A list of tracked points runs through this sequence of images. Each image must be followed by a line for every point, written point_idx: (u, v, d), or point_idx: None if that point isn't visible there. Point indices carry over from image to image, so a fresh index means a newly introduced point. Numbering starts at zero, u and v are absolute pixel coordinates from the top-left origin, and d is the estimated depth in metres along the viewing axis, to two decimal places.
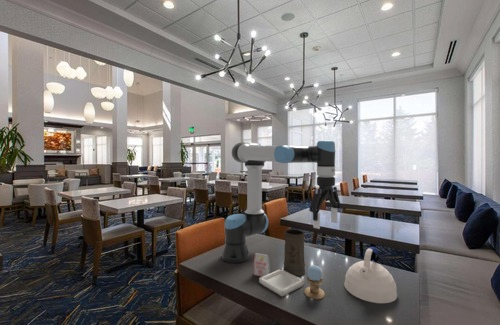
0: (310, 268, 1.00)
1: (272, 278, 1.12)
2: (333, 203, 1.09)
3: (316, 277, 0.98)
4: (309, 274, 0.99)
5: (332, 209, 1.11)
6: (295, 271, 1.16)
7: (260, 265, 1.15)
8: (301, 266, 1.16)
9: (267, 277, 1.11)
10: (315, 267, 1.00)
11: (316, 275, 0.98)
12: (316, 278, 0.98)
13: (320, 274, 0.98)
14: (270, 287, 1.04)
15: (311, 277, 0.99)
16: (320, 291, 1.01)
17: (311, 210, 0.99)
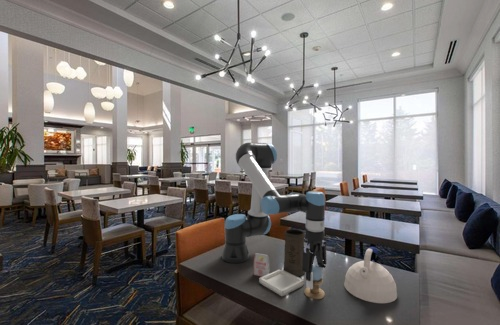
0: None
1: (272, 278, 1.12)
2: (319, 260, 1.02)
3: (316, 277, 0.98)
4: None
5: None
6: (295, 271, 1.16)
7: (260, 265, 1.15)
8: (301, 266, 1.16)
9: (267, 277, 1.11)
10: (315, 267, 1.00)
11: (316, 275, 0.98)
12: (316, 278, 0.98)
13: (320, 274, 0.98)
14: (270, 287, 1.04)
15: None
16: (320, 291, 1.01)
17: (304, 271, 0.97)
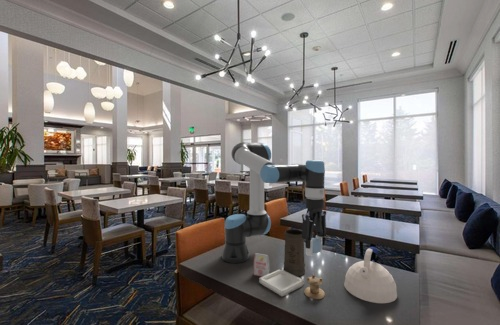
0: None
1: (272, 278, 1.12)
2: (319, 229, 1.02)
3: (315, 249, 0.98)
4: None
5: (317, 237, 1.03)
6: (295, 271, 1.16)
7: (260, 265, 1.15)
8: (301, 266, 1.16)
9: (267, 277, 1.11)
10: (315, 239, 1.00)
11: (316, 247, 0.98)
12: (316, 250, 0.98)
13: (320, 246, 0.98)
14: (270, 287, 1.04)
15: None
16: (320, 291, 1.01)
17: (303, 238, 0.96)
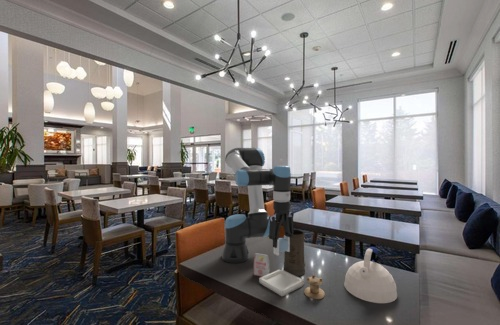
0: None
1: (272, 278, 1.12)
2: (286, 230, 1.10)
3: (282, 248, 1.05)
4: None
5: (285, 237, 1.10)
6: (295, 271, 1.16)
7: (260, 265, 1.15)
8: (301, 266, 1.16)
9: (267, 277, 1.11)
10: (282, 239, 1.07)
11: (282, 246, 1.05)
12: (282, 249, 1.05)
13: (286, 245, 1.06)
14: (270, 287, 1.04)
15: None
16: (320, 291, 1.01)
17: (270, 238, 1.04)
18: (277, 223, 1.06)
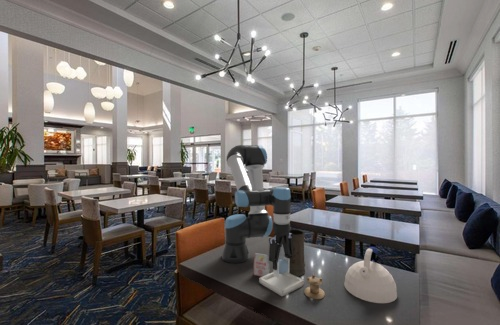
0: None
1: (272, 278, 1.12)
2: (286, 251, 1.10)
3: (282, 270, 1.05)
4: None
5: (284, 259, 1.11)
6: (295, 271, 1.16)
7: (260, 265, 1.15)
8: (301, 266, 1.16)
9: (267, 277, 1.11)
10: (282, 261, 1.07)
11: (282, 268, 1.05)
12: (282, 271, 1.05)
13: (286, 267, 1.06)
14: (270, 287, 1.04)
15: None
16: (320, 291, 1.01)
17: (270, 260, 1.04)
18: (277, 245, 1.06)
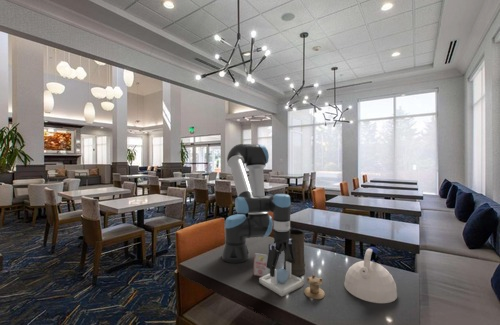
0: (277, 271, 1.08)
1: None
2: (288, 256, 1.11)
3: (282, 279, 1.05)
4: None
5: (286, 263, 1.12)
6: (295, 271, 1.16)
7: (260, 265, 1.15)
8: (301, 266, 1.16)
9: (267, 277, 1.11)
10: (281, 270, 1.07)
11: (282, 277, 1.05)
12: (282, 280, 1.06)
13: (286, 276, 1.06)
14: (270, 287, 1.04)
15: (277, 279, 1.06)
16: (320, 291, 1.01)
17: (268, 267, 1.03)
18: (276, 252, 1.06)
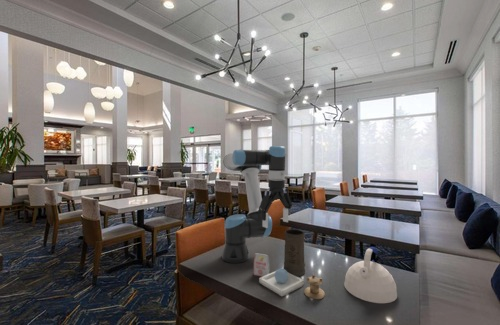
0: (277, 271, 1.08)
1: (272, 278, 1.12)
2: (284, 204, 1.17)
3: (281, 279, 1.05)
4: (276, 277, 1.07)
5: (284, 209, 1.19)
6: (295, 271, 1.16)
7: (260, 265, 1.15)
8: (301, 266, 1.16)
9: (267, 277, 1.11)
10: (281, 270, 1.07)
11: (282, 278, 1.05)
12: (282, 280, 1.06)
13: (286, 276, 1.06)
14: (270, 287, 1.04)
15: (277, 279, 1.06)
16: (320, 291, 1.01)
17: (259, 211, 1.08)
18: (270, 199, 1.11)
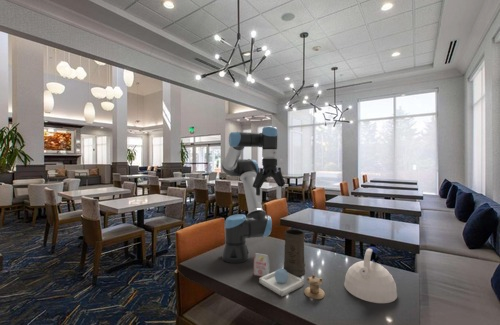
0: (277, 271, 1.08)
1: (272, 278, 1.12)
2: (277, 182, 1.25)
3: (281, 279, 1.05)
4: (276, 277, 1.07)
5: (277, 187, 1.27)
6: (295, 271, 1.16)
7: (260, 265, 1.15)
8: (301, 266, 1.16)
9: (267, 277, 1.11)
10: (281, 270, 1.07)
11: (282, 278, 1.05)
12: (282, 280, 1.06)
13: (286, 277, 1.06)
14: (270, 287, 1.04)
15: (277, 279, 1.06)
16: (320, 291, 1.01)
17: (253, 186, 1.16)
18: (264, 175, 1.19)
